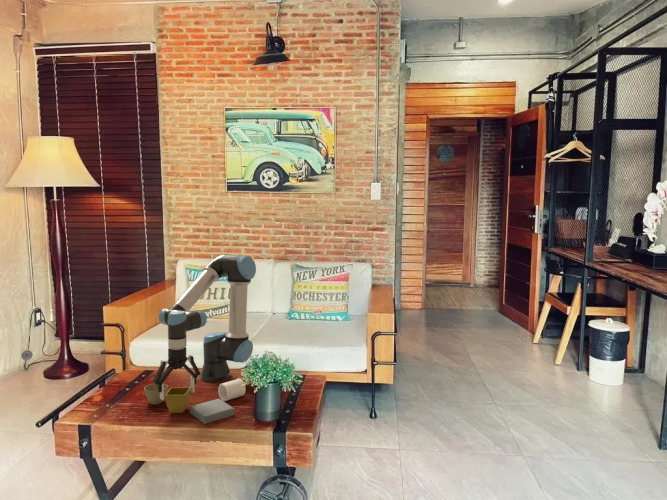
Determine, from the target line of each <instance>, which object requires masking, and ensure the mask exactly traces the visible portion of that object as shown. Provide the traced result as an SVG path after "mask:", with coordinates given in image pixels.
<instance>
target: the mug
mask: <svg viewBox="0 0 667 500" xmlns="http://www.w3.org/2000/svg"><path fill="white" fill-rule="evenodd" d="M242 384H245V382H244V381H243V380H242V379H241V378H237V379H233V380H230V381H226V382H223V383H220V384H219V385H218V389H217V390H218V391H217V392H218V395H219V399H221V400H222V401H224V402H227V401H229V400H235V399H237V398H240V397H242V396H245V394H246V385H245V386H244V387H241V385H242Z"/></svg>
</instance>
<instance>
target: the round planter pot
mask: <svg viewBox="0 0 667 500" xmlns="http://www.w3.org/2000/svg"><path fill="white" fill-rule="evenodd" d="M163 384H164V399H166V398H165V394H166V393H167V392H168V384H166V383H163ZM143 389H144V394H145V397H146V398H147V401H148V402H149V404H151V405H159V404H162V403H163V401H164V400H162V399H160V392H158V385H156V384H154V383H151V384H148V385H146V386H144V388H143Z"/></svg>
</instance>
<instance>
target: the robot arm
mask: <svg viewBox="0 0 667 500" xmlns="http://www.w3.org/2000/svg"><path fill="white" fill-rule="evenodd" d="M256 273H257V264H256V262H255V260H254V259H253V258H252V257H251V256H248V255H242V254H229V253H226V254H221V255H218V256H216V257H214V258H213V259H211V260H210V261H209V262H208V263H207V264H205V266H204V267H203V268H202V272H201V273H200V275H199V276H198V277H197V278H196V279H195V280H194V281H193V282H192V283H191V284H190V286H188V287H187V288H186V290H185V291H184V292H183V293H182V294H181V295H180V296H179V297H178V298H177V299H176V301H175V302H174V303H172V305H171V306H170V308H169V307H168V308H167V307H166V308H162V309H161V311H160V312H159V314H158V320H159V323H161V324H162V325H166V326H167V344H168V345H167V346H168V350H167V354H168V356H167V357H168V358H167V360H163V359H162V360H160V364H159V367H158V370H157V372H156V374H155V376H154V378H153V380H152V384H156V385H158V392H160V399H162V400H163V401H165V398H164V384H165V383H164V382H165V381H166V380H167V378H168V377H169V376H170V374H171V373H172V372H173V370H178V369H180V370H181V369H182V368H183V369H184V370H186V371H187V372H188V373H189V375H191V376H190V377H189V387H190V393H195V385H196V384H197V378H198V376H200V379H201V380H202V381H205V382H209V383H210V382H212V383H214V382H221V381H225V380H227V379H229V378H230V377H231V369H230V367H229V365H228V361H229V362H234V363H240V364H242V363H245V362H247V361H248V360H249V359H250V358H251V355H252V354H253V351H254V343H253V342H252V341H251V340H250V339H249V338H250V337H249V334H248V332H247V311H248V310H247V307H248V286H249V284H251V281H252V279H254V277H255V275H256ZM225 277H226V278H227V283H228V284H229V285H230V287H229V293H230V294H229V311H228V313H229V314H228V332H225V331H217V332H210V333H207V334H206V335H204V337H203V342H202V344H203V345H202V346H203V365H202V368H201V371H200V369H199V368H198V366H197V364H196V362H195V360H194V359H195V358H194V356H193V355H191V354H189V355H188V356H187V332H190V331H193V330H197V329H201V328H202V327H204V326H206V325H207V322H208V319H207V315H206V313H205V312H204V311H201V310H195V311H190V310H191V309H192V308H193V307H194V306H195V305H196V303H197V302H198V301H199V300H200V299H201V298H202V296H203V295H204V294H205V293H206V292H207V291H208V290H209V289H210V288H211V286H212V285H213V284H214V283H216V282H218V281H219V280H220V279H222V278H225ZM187 361H188V362H189V364H190V365H191V367H192V369H193V370H192V369H191V368H190V367H189V366H188V365H187V364H186V363H187ZM167 365H168V366H167ZM165 368H166V369H165Z"/></svg>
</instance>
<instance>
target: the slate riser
mask: <svg viewBox="0 0 667 500" xmlns="http://www.w3.org/2000/svg"><path fill="white" fill-rule="evenodd" d="M235 410H236V409H235V408H234V407H233V406H231V405H230V404H228V403H226V401H223V400H221V398H216V399H213V400H209V401H205V402H201V403H198V404H194V405H191V406H189V414H191V415H192V416H193V417H195V418H196V419H197V420H199V422H201V423H202V424H204V425H207V424H210V423H212V422H216V421H219V420H222V419H225V418H228V417H231V416H232V417H233V416H235V415H236V414H235V413H236V412H235Z"/></svg>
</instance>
